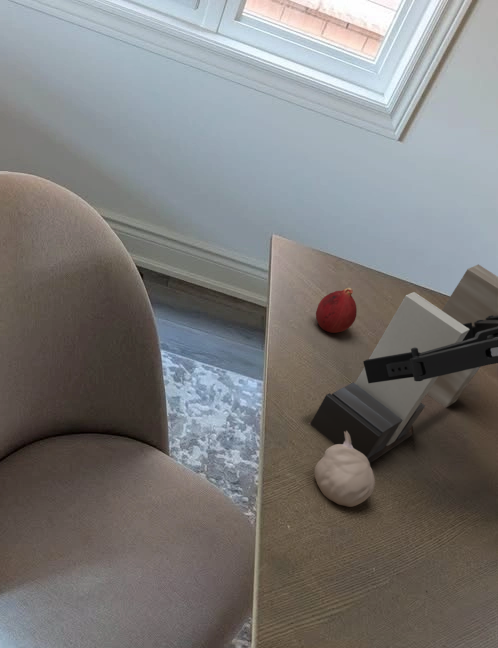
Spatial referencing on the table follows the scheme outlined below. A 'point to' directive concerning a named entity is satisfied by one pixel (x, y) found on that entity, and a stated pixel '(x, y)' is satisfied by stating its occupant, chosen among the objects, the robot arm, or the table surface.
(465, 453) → the table surface
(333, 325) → the red pomegranate
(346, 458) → the garlic bulb
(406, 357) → the robot arm
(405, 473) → the table surface
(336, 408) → the book rack
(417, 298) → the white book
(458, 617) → the table surface
